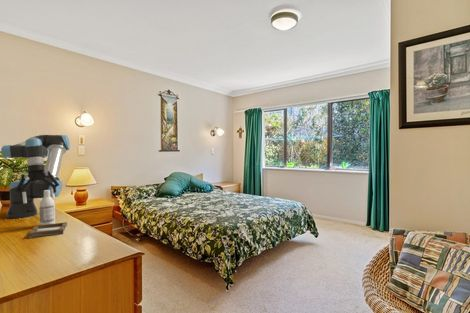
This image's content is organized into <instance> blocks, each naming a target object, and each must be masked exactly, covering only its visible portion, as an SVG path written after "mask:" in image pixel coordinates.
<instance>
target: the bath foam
mask: <svg viewBox="0 0 470 313" xmlns="http://www.w3.org/2000/svg"><path fill="white" fill-rule="evenodd" d="M54 200H55V199H52V198H51V197H50V190H44V198H41V200H40V202H39V225H46V224H55V223H56V203H55V201H54Z"/></svg>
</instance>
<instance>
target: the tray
mask: <svg viewBox="0 0 470 313" xmlns="http://www.w3.org/2000/svg"><path fill="white" fill-rule="evenodd" d="M67 227H68V222H66V221H65V222H58V223H56V222H55V224H46V225H40V224H39V225H35V226H34V227H33V228H32V229H31V230H30V231H29V232H28V239H34V238H43V237H50V236H57V235H63V234H65V232H66V229H67Z"/></svg>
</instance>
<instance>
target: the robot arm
mask: <svg viewBox="0 0 470 313" xmlns="http://www.w3.org/2000/svg"><path fill="white" fill-rule="evenodd" d="M70 147H71V146H70V139H69V136H68V135H64V134H54V135H53V134H41V135H40V134H39V135H35V136H31V137H29V138H27V139H26V140H25V141H22V142H17V143H15V144H12V145H11V144H7V145H5V144H4V145H2V147H1V150H0V152H1V156H2V157H3V158H5V159H7V158H9V159H12V158H13V159H14V158H17V159H18V158H22V159H23V158H24V159H25V158H26V163H27V174H21V175H20V176H21V177H20V178H21V179H19V180H15V181H11V182H10V184H9V207H8V210H7V213H6V218H7V219H20V218H28V217H32V216H35V215H37V214H38V209H37V207H36V205H35V201H34V200H35V199H43V198H44V190H50V197H51V198H52V199H53V200H55V199H56V198H57V197H58V196H59V195H60V194H61V193H62V192H61V191H62V186H63V183H62V180H61V179H60V178H59V174H60V169H61V165H62V161H63V157H64V156H63V155H65V154H66V152H67V151H70ZM45 158H46V163H45V165H44V159H45Z"/></svg>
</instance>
